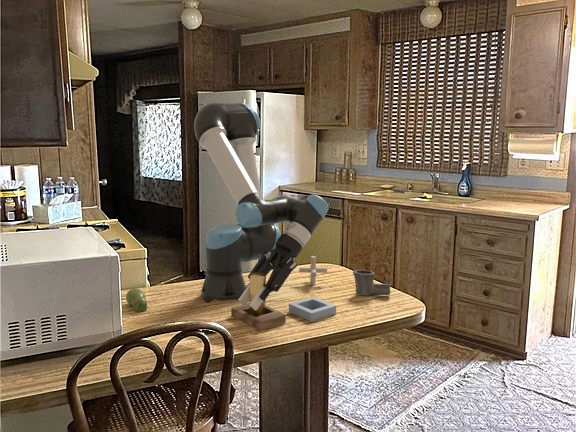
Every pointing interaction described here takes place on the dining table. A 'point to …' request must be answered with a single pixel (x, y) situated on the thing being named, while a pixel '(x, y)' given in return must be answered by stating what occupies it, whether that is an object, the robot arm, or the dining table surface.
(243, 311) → the brown wooden holder
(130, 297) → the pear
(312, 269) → the pipe connector
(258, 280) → the axle
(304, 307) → the blue-grey square socket
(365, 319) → the dining table surface
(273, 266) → the robot arm
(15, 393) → the dining table surface
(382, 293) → the pipe
